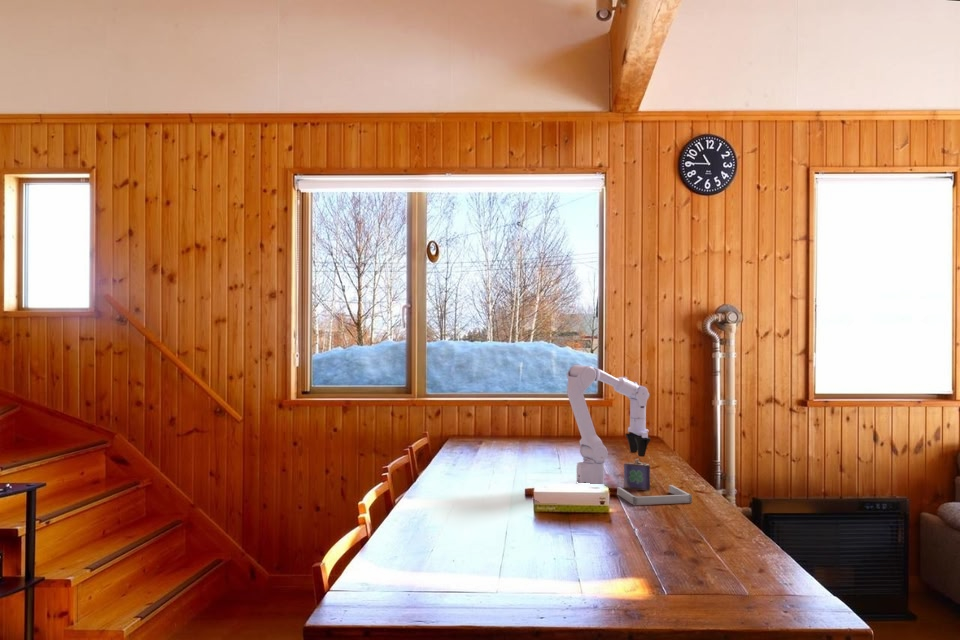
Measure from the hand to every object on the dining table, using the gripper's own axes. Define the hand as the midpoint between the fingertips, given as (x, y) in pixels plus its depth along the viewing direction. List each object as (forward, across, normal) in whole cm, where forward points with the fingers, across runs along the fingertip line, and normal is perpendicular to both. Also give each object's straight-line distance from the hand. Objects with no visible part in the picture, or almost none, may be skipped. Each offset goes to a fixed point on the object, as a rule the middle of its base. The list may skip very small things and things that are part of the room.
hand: (637, 454), depth 272 cm
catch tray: (+10, -24, +4) cm, 27 cm away
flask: (+10, -10, +4) cm, 15 cm away
